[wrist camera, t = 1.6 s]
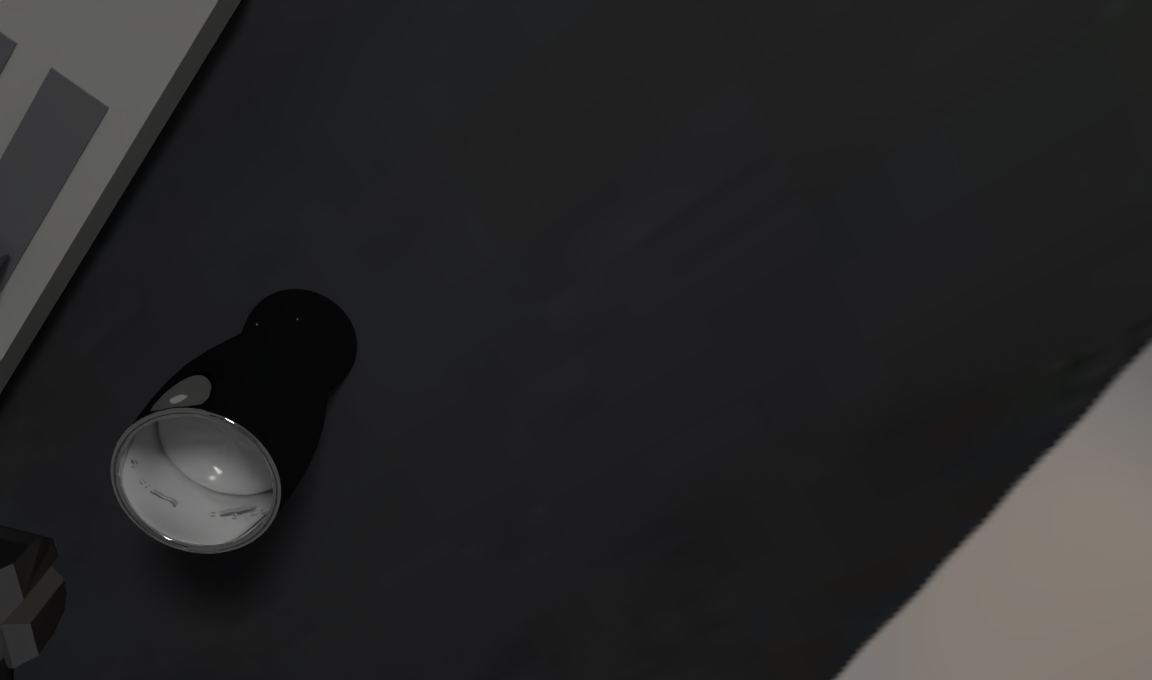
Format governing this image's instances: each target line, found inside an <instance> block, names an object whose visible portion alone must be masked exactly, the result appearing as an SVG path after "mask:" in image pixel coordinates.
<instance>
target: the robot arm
mask: <svg viewBox="0 0 1152 680" xmlns="http://www.w3.org/2000/svg"><path fill="white" fill-rule="evenodd" d="M58 557H59V555H58V552H57V549H56V545H55V542H54V539H53V538H49V537H45V536H41V535H37V534H34V533H30V532H26V531H22V530H18V529H14V528H10V527H6V526H3V525H0V680H14V668H15V667H17V666H19V665H21V664H23V663H25V662H27V661H29V660H31V659H32V658H34V657H36V656H38V655H39V654H40V653H41V651H42V650H43V649H44V647H45V646H46V644H47V643H48V642H49V640H50V639H51V638H52V636H53V635H54V633H55V631H56V629H57V626H58V624H59V622H60V620H61V617H62V615H63V613H64V611H65V604H66V596H67V591H66V586H65V581H64V579H63V578H62V577H61V576H60V575H59V574H58V573H57V572H56V571H55V570H54V569H53V568H52V567H51V566H52V564H53V563H54V562H55V561H56V559H57V558H58Z"/></svg>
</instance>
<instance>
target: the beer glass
mask: <svg viewBox="0 0 1152 680" xmlns="http://www.w3.org/2000/svg"><path fill="white" fill-rule="evenodd" d="M356 353H357V339H356V334H355V331H354V328H353V325H352V323H351V321H350V320H349V318H348V316H347V315H346V314H345V312H344V311H343V310H342V309H341V308H340V307H339V306H338V305H337V304H335V303H334V302H333V301H331V300H330V299H328V298H327V297H325V296H323V295H321V294H318V293H316V292H312V291H308V290H302V289H289V290H283V291H279V292H276V293H273V294H271V295H269V296H267V297H266V298H264V299H263V300H262V301H260V302H259V303H258V304H257V305H256V306H255V307H254V309H253V310H252V311H251V313H250V314H249V316H248V318H247V320H246V322H245V325H244V327H243V330H242V333H240V334H238V335H236V336H234V337H232V338H230V339H228V340H226V341H224V342H222V343H220V344H218V345H217V346H215V347H213V348H211V349H209V350H207V351H206V352H204V353H203V354H201V355H199V356H198V357H196V358H195V359H193V360H192V361H190V362H189V363H187V364H186V365H185V366H184V367H183V368H181V369H180V370H179V371H178V372H177V373H176V374H175V375H174V376H172V377H171V378H170V379H169V380H168V381H167V382H166V383H165V384H164V385H163V386H162V388H161V389H160V390H159V391H158V392H157V393H156V394H155V395H154V396H153V398H152V399H151V400H150V401H149V403H148V404H147V405H146V406H145V408H144V409H143V410H142V412H141V413H140V414H139V416H138V417H137V418H136V420H135V421H134V422H133V424H132V425H131V426H130V427H129V428H128V429H127V430H126V431H125V432H124V433H123V435H122V436H121V437H120V439H119V441H118V442H117V444H116V446H115V449H114V451H113V455H112V458H111V466H110V474H111V482H112V486H113V490H114V493H115V495H116V498H117V500H118V502H119V504H120V506H121V507H122V509H123V510H124V512H125V513H126V514H127V516H128V517H129V518H130V519H131V520H132V521H133V522H134V523H135V524H136V525H137V526H138V527H139V528H140V529H141V530H142V531H144V532H145V533H146V534H148V535H149V536H151V537H152V538H154V539H156V540H158V541H159V542H161V543H163V544H166V545H168V546H171V547H173V548H176V549H180V550H183V551H188V552H193V553H204V554H213V553H223V552H228V551H232V550H236V549H239V548H241V547H244V546H246V545H248V544H250V543H251V542H253V541H255V540H256V539H257V538H259V537H260V536H261V535H262V534H263V533H264V532H265V531H266V530H267V529H268V528H269V527H270V526H271V524H272V523H273V521H274V519H275V517H276V515H277V514H278V512H279V511H280V510H281V508H282V507H283V506H284V504H285V503H286V501H287V500H288V499H289V497H290V496H291V494H292V493H293V491H294V490H295V489H296V487H297V485H298V484H299V482H300V480H301V479H302V477H303V475H304V474H305V472H306V470H307V469H308V467H309V464H310V462H311V460H312V458H313V456H314V453H315V451H316V449H317V447H318V444H319V440H320V436H321V433H322V429H323V425H324V420H325V415H326V409H327V402H328V396H329V391H330V390H331V389H332V388H334V387H335V386H336V385H337V384H338V383H340V382H341V381H342V380H343V379H344V378H345V377H346V375H347V374H348V373H349V371H350V370H351V368H352V366H353V364H354V361H355V358H356Z"/></svg>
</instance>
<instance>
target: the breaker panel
mask: <svg viewBox="0 0 1152 680" xmlns="http://www.w3.org/2000/svg"><path fill="white" fill-rule="evenodd" d="M240 1H241V0H0V394H1V392H2V390H3V389H4V387H5V385H6V384H7V382H8V380H9V379H10V377H11V376H12V374H13V372H14V371H15V369H16V367H17V366H18V364H19V362H20V361H21V359H22V358H23V356H24V354H25V353H26V351H27V349H28V348H29V346H30V345H31V343H32V341H33V340H34V338H35V336H36V335H37V333H38V331H39V330H40V328H41V327H42V325H43V323H44V322H45V320H46V318H47V317H48V315H49V313H50V312H51V310H52V309H53V307H54V305H55V304H56V302H57V300H58V299H59V297H60V295H61V294H62V292H63V291H64V289H65V287H66V286H67V284H68V282H69V281H70V279H71V278H72V276H73V274H74V273H75V271H76V269H77V268H78V266H79V264H80V263H81V261H82V260H83V258H84V256H85V255H86V253H87V251H88V250H89V248H90V246H91V245H92V243H93V242H94V240H95V238H96V237H97V235H98V233H99V232H100V230H101V229H102V227H103V225H104V224H105V222H106V220H107V219H108V217H109V215H110V214H111V212H112V211H113V209H114V207H115V206H116V204H117V202H118V201H119V199H120V197H121V196H122V194H123V193H124V191H125V189H126V188H127V186H128V184H129V183H130V181H131V179H132V178H133V176H134V175H135V173H136V171H137V170H138V168H139V166H140V165H141V163H142V162H143V160H144V158H145V157H146V155H147V153H148V152H149V150H150V148H151V147H152V145H153V144H154V142H155V140H156V139H157V137H158V135H159V134H160V132H161V130H162V129H163V127H164V126H165V124H166V122H167V121H168V119H169V117H170V116H171V114H172V112H173V111H174V109H175V108H176V106H177V104H178V103H179V101H180V99H181V98H182V96H183V95H184V93H185V91H186V90H187V88H188V86H189V85H190V83H191V81H192V80H193V78H194V77H195V75H196V73H197V72H198V70H199V68H200V67H201V65H202V63H203V62H204V60H205V59H206V57H207V55H208V54H209V52H210V50H211V49H212V47H213V46H214V44H215V42H216V41H217V39H218V37H219V36H220V34H221V32H222V31H223V29H224V28H225V26H226V24H227V23H228V21H229V19H230V18H231V16H232V14H233V13H234V11H235V10H236V8H237V6H238V5H239V3H240Z"/></svg>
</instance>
